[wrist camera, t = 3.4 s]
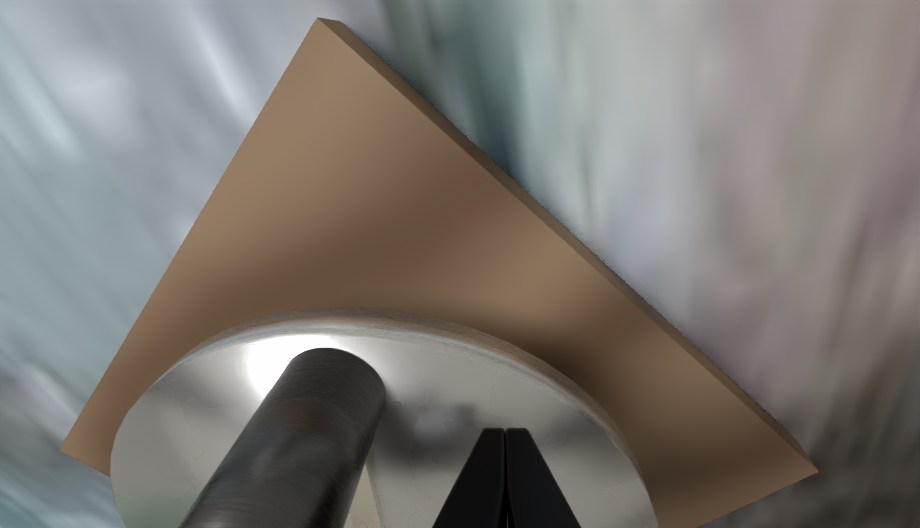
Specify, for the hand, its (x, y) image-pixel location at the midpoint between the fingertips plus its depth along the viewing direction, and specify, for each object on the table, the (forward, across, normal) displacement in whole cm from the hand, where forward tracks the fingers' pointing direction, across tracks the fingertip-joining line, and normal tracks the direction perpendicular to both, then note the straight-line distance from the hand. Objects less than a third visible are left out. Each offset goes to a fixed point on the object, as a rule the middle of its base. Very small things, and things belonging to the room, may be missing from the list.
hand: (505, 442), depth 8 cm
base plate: (+6, +4, +6) cm, 10 cm away
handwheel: (+4, +4, +7) cm, 9 cm away
